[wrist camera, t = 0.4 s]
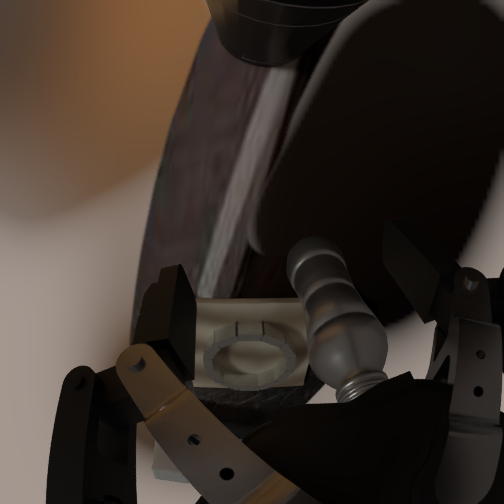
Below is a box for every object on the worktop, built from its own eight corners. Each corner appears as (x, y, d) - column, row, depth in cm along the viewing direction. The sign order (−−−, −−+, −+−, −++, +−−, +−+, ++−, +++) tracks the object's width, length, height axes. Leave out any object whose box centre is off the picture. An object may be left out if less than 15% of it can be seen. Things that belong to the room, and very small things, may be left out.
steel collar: (201, 320, 35) (198, 333, 33) (297, 319, 36) (300, 332, 34) (209, 377, 41) (208, 390, 39) (288, 376, 42) (289, 389, 40)
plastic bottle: (331, 222, 31) (419, 361, 13) (341, 270, 34) (408, 411, 16) (276, 239, 32) (312, 399, 14) (291, 286, 35) (327, 439, 17)
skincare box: (163, 392, 45) (149, 467, 32) (199, 398, 46) (192, 475, 32) (163, 412, 49) (152, 479, 35) (195, 418, 50) (189, 485, 36)
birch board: (178, 297, 35) (176, 302, 34) (320, 297, 36) (322, 301, 35) (194, 381, 43) (193, 386, 43) (302, 380, 44) (302, 385, 43)
